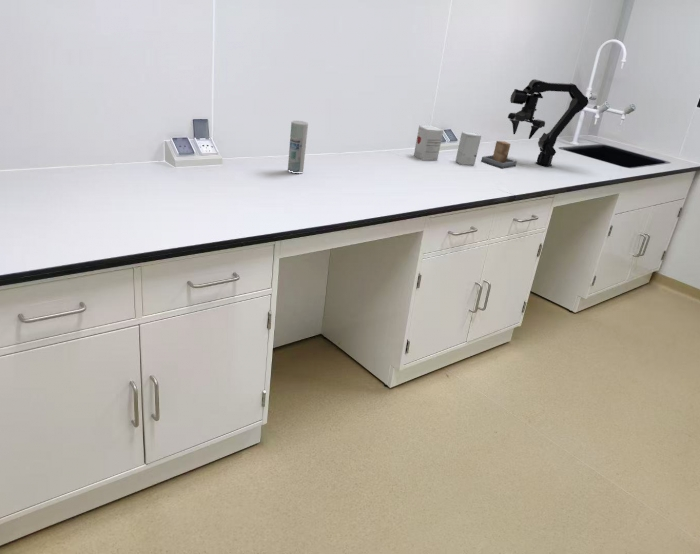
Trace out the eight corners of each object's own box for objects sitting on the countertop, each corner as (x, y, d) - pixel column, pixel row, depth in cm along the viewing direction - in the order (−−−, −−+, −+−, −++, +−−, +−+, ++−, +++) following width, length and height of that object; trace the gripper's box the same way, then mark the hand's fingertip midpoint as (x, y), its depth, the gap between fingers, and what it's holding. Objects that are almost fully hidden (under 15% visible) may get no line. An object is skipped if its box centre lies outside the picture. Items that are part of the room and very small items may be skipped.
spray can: (284, 171, 235) (288, 121, 227) (293, 168, 241) (297, 119, 232) (297, 175, 233) (302, 125, 224) (306, 172, 238) (311, 123, 230)
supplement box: (413, 155, 289) (418, 125, 283) (428, 155, 293) (433, 125, 287) (422, 160, 282) (428, 129, 276) (437, 160, 286) (443, 130, 280)
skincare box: (460, 164, 284) (466, 134, 278) (454, 161, 289) (461, 131, 283) (475, 165, 287) (482, 135, 281) (469, 162, 292) (476, 132, 286)
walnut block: (499, 160, 299) (504, 141, 294) (505, 163, 295) (510, 143, 290) (491, 160, 297) (496, 141, 292) (497, 163, 293) (502, 143, 288)
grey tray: (515, 166, 296) (516, 161, 295) (501, 168, 288) (502, 163, 287) (495, 159, 304) (496, 154, 303) (481, 161, 296) (482, 156, 295)
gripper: (506, 101, 294) (498, 132, 301) (538, 110, 283) (529, 142, 290) (517, 101, 302) (509, 131, 309) (549, 110, 290) (540, 141, 297)
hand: (521, 136), depth 301 cm, fingers open, 9 cm apart
